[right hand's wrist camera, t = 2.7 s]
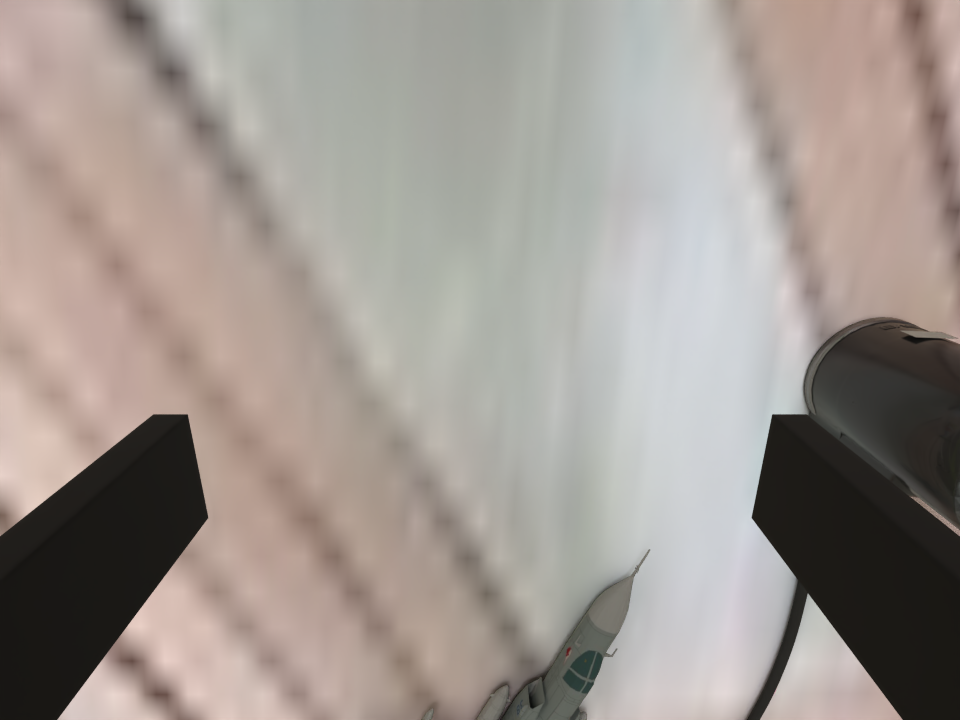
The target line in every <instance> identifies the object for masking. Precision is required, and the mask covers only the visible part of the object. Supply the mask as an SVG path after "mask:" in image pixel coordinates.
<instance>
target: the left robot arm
mask: <svg viewBox="0 0 960 720" xmlns="http://www.w3.org/2000/svg"><path fill="white" fill-rule="evenodd" d="M945 338H952V339H958V338H956V337H953V336H950V335H948V334H945V333H943V332H929V331H927V330H924V329H922V328H920V327H918V326H916V325H914V324H911V323H909V322H906V321H903V320H900V319H896V318H888V317H880V318H871V319H867V320H863V321H860V322H857V323H855V324H852V325H850V326H848V327H846V328H844V329H843V330H841V331H839V332H838V333H837V334H835V335H834V336H833V337H831V338H830V339H829V340H828V341H827V342H826V343H825V344H824V345H823V346H822V347H821V349H820V350H819V351H818V352H817V354H816V355H815V357H814V359H813V360H812V362H811V364H810V366H809V369H808V372H807V375H806V380H805V398H806V402H807V405H808V407H809V410H810V414H809V417H810V418H812V419H813V420H814V421H815V422H817V423H818V424H819V425H820V426H822V427H823V428H824V429H825V430H827V431H828V432H829V433H830V434H832V435H833V436H834V437H835V438H837V439H838V440H839V441H840V442H842V443H843V444H844V445H845V446H847V447H848V448H849V449H850V450H852V451H853V452H854V453H855V454H857V455H858V456H859V457H861V458H862V459H863V460H864V461H866V462H867V463H868V464H869V465H871V466H872V467H873V468H874V469H876V470H877V471H878V472H879V473H881V474H882V475H883V476H884V477H886V478H887V479H888V480H889V481H891V482H892V483H893V484H894V485H896V486H897V487H898V488H899V489H901V490H902V491H903V492H904V493H906V494H907V495H908V496H911V497H917V498H920V499H921V500H922V501H924V502H925V503H926V504H927V505H929V506H930V507H931V508H932V509H934V510H935V511H936V512H938V513H939V514H940V515H941V516H943V517H944V518H945V519H947V520H948V521H949V522H950V523H952V524H953V525H954V526H955V527H957V528H958V529H959V530H960V344H958V343H955V342H953V341H950V340H948V339H945ZM807 594H808V592H807V591H806V590H805V588H804V587H803V586H802V584H801V583H800V582H799V580H798V584H797V589H796V594H795V598H794V602H793V606H792V611H791V615H790V618H789V622H788V626H787V629H786V633H785V636H784V639H783V642H782V645H781V648H780V651H779V654H778V656H777V659H776V661H775V664H774V666H773V669H772V671H771V674H770V676H769V678H768V681H767V683H766V685H765V687H764V689H763V691H762V693H761V695H760V697H759V699H758V701H757V703H756V705H755V707H754V708H753V710H752V712H751V714H750V716H749V717H748V719H747V720H760V718H761V717H762V715H763V713H764V711H765V710H766V708H767V706H768V704H769V702H770V700H771V698H772V696H773V694H774V692H775V690H776V688H777V686H778V684H779V681H780V679H781V677H782V674H783V672H784V670H785V667H786V665H787V662H788V659H789V657H790V654H791V651H792V648H793V646H794V642H795V639H796V636H797V633H798V629H799V626H800V622H801V618H802V614H803V610H804V606H805V602H806V598H807Z"/></svg>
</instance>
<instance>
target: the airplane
mask: <svg viewBox="0 0 960 720" xmlns="http://www.w3.org/2000/svg"><path fill="white" fill-rule="evenodd" d="M649 551H650V549H649V550H648V552H647V553H646V555H645V556H644V558H643V559H642V561H641V562H640V564H639V565H638V566H637V568H636V567H635V569H636V570H635V571H634V572H633V574H632V575H631V576H629V577H628V578H626V579H624V580H622V581H620V582H618V583H617V584H615V585H613V586H611V587H610V588H608V589H607V590H605V591H604V592H603V593H602V594H601V595H600V596H599V597H598V598H597V599H596V600H595V601H594V603H593V604H592V606H591V607H590V609H589V610H588V611H587V613H586V614H585V616H584V617H583V619H582V620H581V622H580V623H579V625H578V626H577V628H576V629H575V631H574V632H573V634H572V636H571V637H570V639H569V640H568V642H567V643H566V645H565V646H564V648H563V649H562V651H561V653H560V654H559V656H558V657H557V659H556V661H555V662H554V664H553V665H552V667H551V669H550V670H549V672H548V673H547V675H546V677H545V679H544V680H543V682H542V677H540V678H539V679H538V680H536V681H534V682H531V683H529V684H527V685H526V687H525V688H524V689H523V690H522V691H521V692H520V693H519V694H518V695H517V696H516V698H515V699H514V701H513V702H512V704H511V705H510V707H509V709H508V710H507V712H506V713H505V715H504V716H503V718H502V720H587V714H586V712H581V713H580V710H579V705H580V704H581V702H582V701H583V699H584V698H585V697H586V695H587V694H588V692H589V691H590V689H591V688H592V686H593V684H594V681H595V678H596V676H597V675H598V673H599V670H600V667H601V664H602V660H603V658H604V657H613V655H614V654H615V652H616V650H617V649H616V650H615V651H614V653H613V654H612V655H609V654H607V653H606V652H607V650H608V648H609V646H610V645H611V643H612V642H613V640H614V639H615V637H616V636H617V634H618V633H619V631H620V629H621V627H622V624H623V622H624V620H625V617H626V614H627V612H628V608H629V602H630V595H631V589H632V583H633V578H634V576H635V574H636V572H637V571H639V567H640V566H641V564H642V563H643V561H644V560H645V558H646V556H647V555H648V553H649ZM508 695H509V687H508V685H505V686H502V687H501V688H499V689H498V690H497V691H496V692H495V693H494V694H491V695H490V696H491V698H490V699H489V701H488V702H487V704H486V705H485V707H484V708H483V709H482V711H481V712H480V714H479V716H478V718H477V719H476V720H499V718H500V716H501V714H502V712H503V710H504V708H505V705H506V703H507V702H509V703H510V701H511V700H510V699H508ZM433 713H434V711H433V708H432V709H430V710H429V711H428V712H427V713H426V714H425V716H424V717H423V719H422V720H431V719H432V716H433Z"/></svg>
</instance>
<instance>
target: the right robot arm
mask: <svg viewBox="0 0 960 720" xmlns="http://www.w3.org/2000/svg"><path fill="white" fill-rule="evenodd" d="M207 519H208V514H207V509H206V504H205V499H204V494H203V489H202V484H201V479H200V474H199V469H198V464H197V459H196V454H195V449H194V444H193V439H192V434H191V429H190V424H189V419H188V415H152V416H151V417H150V418H148V419H147V420H146V421H145V422H143V423H142V424H141V425H140V426H138V427H137V428H136V429H135V430H133V431H132V432H131V433H130V434H128V435H127V436H126V437H125V438H123V439H122V440H121V441H120V442H118V443H117V444H116V445H115V446H113V447H112V448H111V449H110V450H108V451H107V452H106V453H105V454H103V455H102V456H101V457H99V458H98V459H97V460H96V461H94V462H93V463H92V464H91V465H89V466H88V467H87V468H86V469H84V470H83V471H82V472H81V473H79V474H78V475H77V476H76V477H74V478H73V479H72V480H71V481H69V482H68V483H67V484H66V485H64V486H63V487H62V488H61V489H59V490H58V491H57V492H56V493H54V494H53V495H52V496H50V497H49V498H48V499H47V500H45V501H44V502H43V503H42V504H40V505H39V506H38V507H37V508H35V509H34V510H33V511H32V512H30V513H29V514H28V515H27V516H25V517H24V518H23V519H22V520H20V521H19V522H18V523H17V524H15V525H14V526H13V527H12V528H10V529H9V530H8V531H6V532H5V533H4V534H3V535H1V536H0V720H57V719H58V718H59V717H60V715H61V714H62V713H63V711H64V710H65V709H66V707H67V706H68V705H69V703H70V702H71V701H72V699H73V698H74V697H75V695H76V694H77V693H78V691H79V690H80V689H81V687H82V686H83V685H84V683H85V682H86V681H87V679H88V678H89V677H90V675H91V674H92V672H93V671H94V670H95V668H96V667H97V666H98V664H99V663H100V662H101V660H102V659H103V658H104V656H105V655H106V654H107V652H108V651H109V650H110V648H111V647H112V646H113V644H114V643H115V642H116V640H117V639H118V638H119V636H120V635H121V634H122V632H123V631H124V630H125V628H126V627H127V626H128V624H129V623H130V622H131V620H132V619H133V618H134V616H135V615H136V614H137V612H138V611H139V610H140V608H141V607H142V606H143V604H144V603H145V602H146V600H147V599H148V598H149V596H150V595H151V594H152V592H153V591H154V590H155V588H156V587H157V586H158V584H159V583H160V582H161V580H162V579H163V578H164V576H165V575H166V574H167V572H168V571H169V570H170V568H171V567H172V566H173V564H174V563H175V562H176V560H177V559H178V558H179V556H180V555H181V554H182V552H183V551H184V550H185V548H186V547H187V546H188V544H189V543H190V542H191V540H192V539H193V538H194V536H195V535H196V534H197V532H198V531H199V530H200V528H201V527H202V526H203V524H204V523H205V522H206V520H207ZM752 519H753V520H754V522H755V523H756V524H757V526H758V527H759V528H760V530H761V531H762V532H763V534H764V535H765V536H766V538H767V539H768V540H769V542H770V543H771V544H772V546H773V547H774V548H775V550H776V551H777V552H778V554H779V555H780V556H781V558H782V559H783V560H784V562H785V563H786V564H787V566H788V567H789V568H790V570H791V571H792V572H793V574H794V575H795V576H796V578H797V579H798V580H799V582H800V583H801V584H802V586H803V587H804V588H805V590H806V591H807V592H808V594H809V595H810V596H811V598H812V599H813V600H814V602H815V603H816V604H817V606H818V607H819V608H820V610H821V611H822V612H823V614H824V615H825V616H826V618H827V619H828V620H829V622H830V623H831V624H832V626H833V627H834V628H835V630H836V631H837V632H838V634H839V635H840V636H841V638H842V639H843V640H844V642H845V643H846V644H847V646H848V647H849V648H850V650H851V651H852V652H853V654H854V655H855V656H856V658H857V659H858V660H859V662H860V663H861V664H862V666H863V667H864V668H865V670H866V671H867V672H868V674H869V675H870V677H871V678H872V679H873V681H874V682H875V683H876V685H877V686H878V687H879V689H880V690H881V691H882V693H883V694H884V695H885V697H886V698H887V699H888V701H889V702H890V703H891V705H892V706H893V707H894V709H895V710H896V711H897V713H898V714H899V715H900V717H901V718H902V719H903V720H960V536H959V535H957V534H956V533H955V532H954V531H952V530H951V529H950V528H948V527H947V526H946V525H945V524H943V523H942V522H941V521H940V520H938V519H937V518H936V517H935V516H933V515H932V514H931V513H930V512H928V511H927V510H926V509H925V508H923V507H922V506H921V505H920V504H918V503H917V502H916V501H915V500H913V499H912V498H911V497H910V496H908V495H907V494H906V493H904V492H903V491H902V490H901V489H899V488H898V487H897V486H896V485H894V484H893V483H892V482H891V481H889V480H888V479H887V478H886V477H884V476H883V475H882V474H881V473H879V472H878V471H877V470H876V469H874V468H873V467H872V466H871V465H869V464H868V463H867V462H866V461H864V460H863V459H862V458H861V457H859V456H858V455H857V454H855V453H854V452H853V451H852V450H850V449H849V448H848V447H847V446H845V445H844V444H843V443H842V442H840V441H839V440H838V439H837V438H835V437H834V436H833V435H832V434H830V433H829V432H828V431H827V430H825V429H824V428H823V427H822V426H820V425H819V424H818V423H817V422H815V421H814V420H813V419H812V418H810V417H809V416H808V415H772V419H771V424H770V429H769V434H768V439H767V444H766V449H765V454H764V459H763V464H762V469H761V474H760V479H759V484H758V489H757V494H756V499H755V504H754V509H753V514H752Z"/></svg>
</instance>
